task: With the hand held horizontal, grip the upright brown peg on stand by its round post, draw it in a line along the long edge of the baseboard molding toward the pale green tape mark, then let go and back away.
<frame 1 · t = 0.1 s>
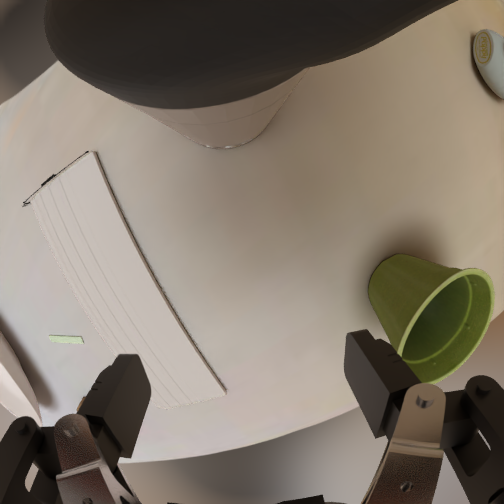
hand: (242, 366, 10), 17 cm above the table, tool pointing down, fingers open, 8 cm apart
baseboard molding: (120, 303, 28), on the table
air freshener: (486, 68, 21), on the table
plant pot: (393, 283, 29), on the table
tape mark: (65, 339, 29), on the table
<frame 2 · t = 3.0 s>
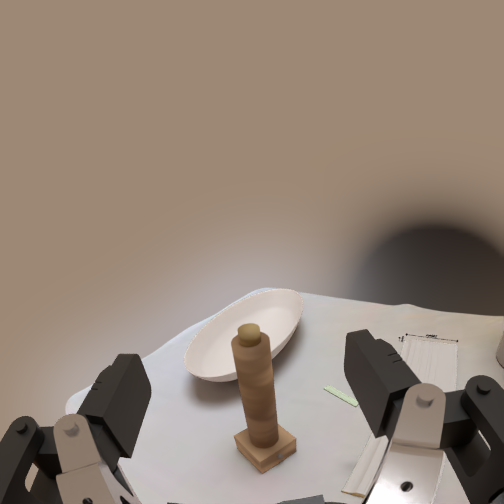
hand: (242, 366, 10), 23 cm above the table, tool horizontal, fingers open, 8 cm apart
bowl: (255, 352, 48), on the table
baseboard molding: (413, 409, 29), on the table
tape mark: (341, 396, 34), on the table
brown peg on stand: (266, 450, 27), on the table
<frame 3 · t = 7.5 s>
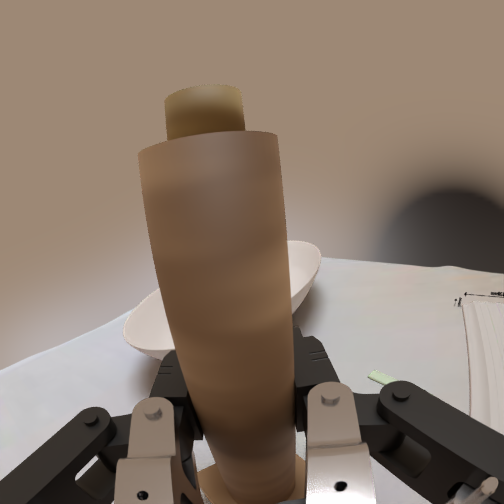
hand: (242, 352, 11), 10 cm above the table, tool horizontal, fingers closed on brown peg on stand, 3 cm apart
bowl: (248, 325, 32), on the table
tape mark: (399, 387, 18), on the table
brown peg on stand: (265, 502, 10), on the table, touching gripper
when the fingers open (10 cm above the table, at t = 11.0 s): brown peg on stand stays where it is, on the table.
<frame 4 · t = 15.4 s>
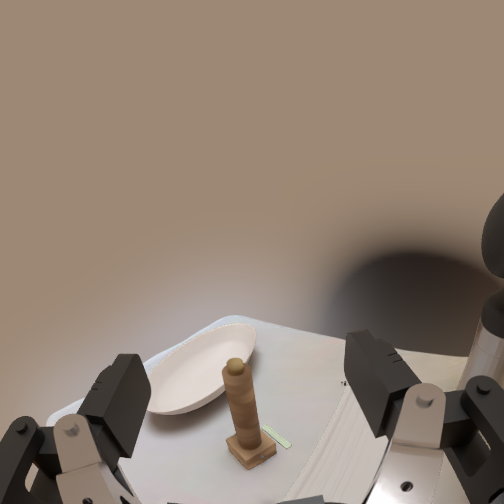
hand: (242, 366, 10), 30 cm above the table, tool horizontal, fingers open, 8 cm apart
bowl: (208, 385, 49), on the table
baseboard molding: (343, 459, 30), on the table
tape mark: (276, 436, 35), on the table
brown peg on stand: (252, 451, 33), on the table
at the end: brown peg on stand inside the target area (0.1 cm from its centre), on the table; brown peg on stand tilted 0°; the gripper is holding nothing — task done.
